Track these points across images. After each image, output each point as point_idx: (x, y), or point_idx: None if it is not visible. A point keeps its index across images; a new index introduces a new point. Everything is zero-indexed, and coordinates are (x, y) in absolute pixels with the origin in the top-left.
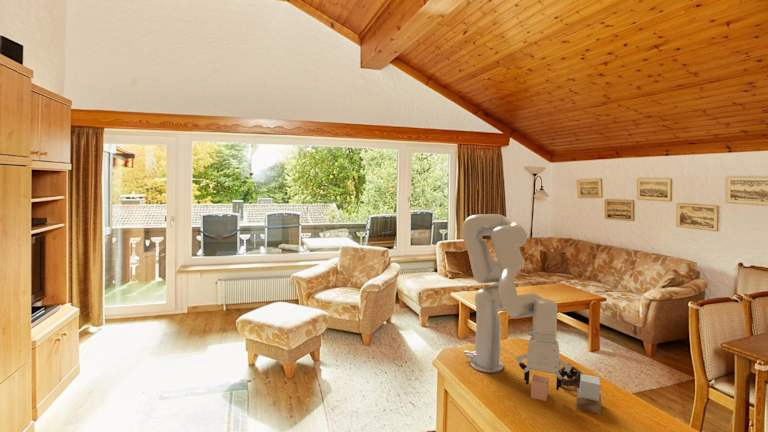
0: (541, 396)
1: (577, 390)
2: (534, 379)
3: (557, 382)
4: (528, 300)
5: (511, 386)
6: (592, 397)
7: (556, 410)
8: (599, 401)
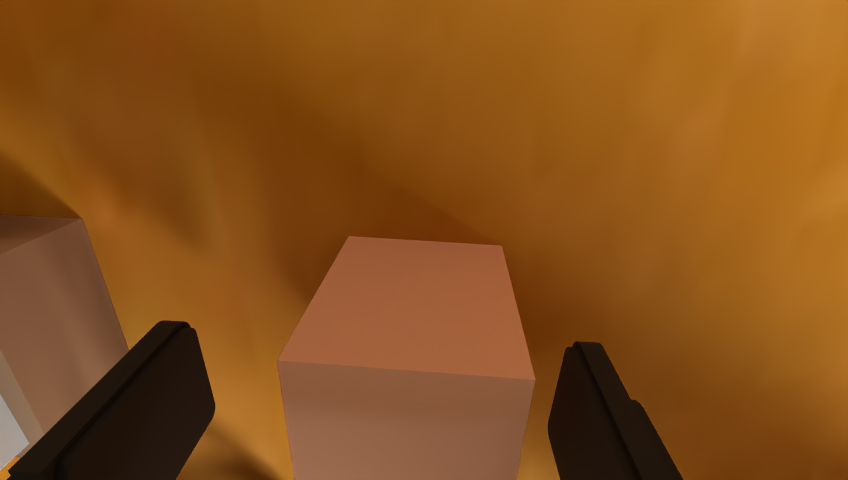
0: (392, 256)
1: (33, 418)
2: (490, 424)
3: (92, 410)
4: None
5: (684, 368)
6: None
7: (224, 87)
8: None
